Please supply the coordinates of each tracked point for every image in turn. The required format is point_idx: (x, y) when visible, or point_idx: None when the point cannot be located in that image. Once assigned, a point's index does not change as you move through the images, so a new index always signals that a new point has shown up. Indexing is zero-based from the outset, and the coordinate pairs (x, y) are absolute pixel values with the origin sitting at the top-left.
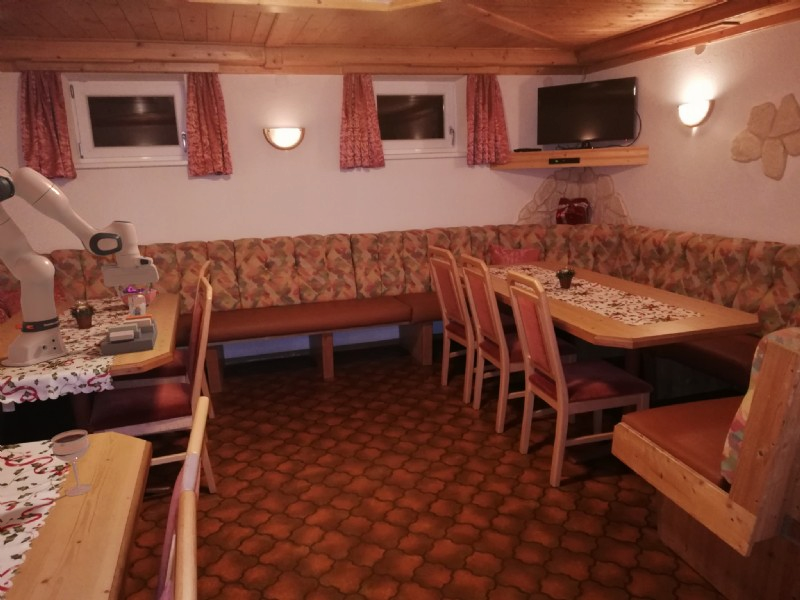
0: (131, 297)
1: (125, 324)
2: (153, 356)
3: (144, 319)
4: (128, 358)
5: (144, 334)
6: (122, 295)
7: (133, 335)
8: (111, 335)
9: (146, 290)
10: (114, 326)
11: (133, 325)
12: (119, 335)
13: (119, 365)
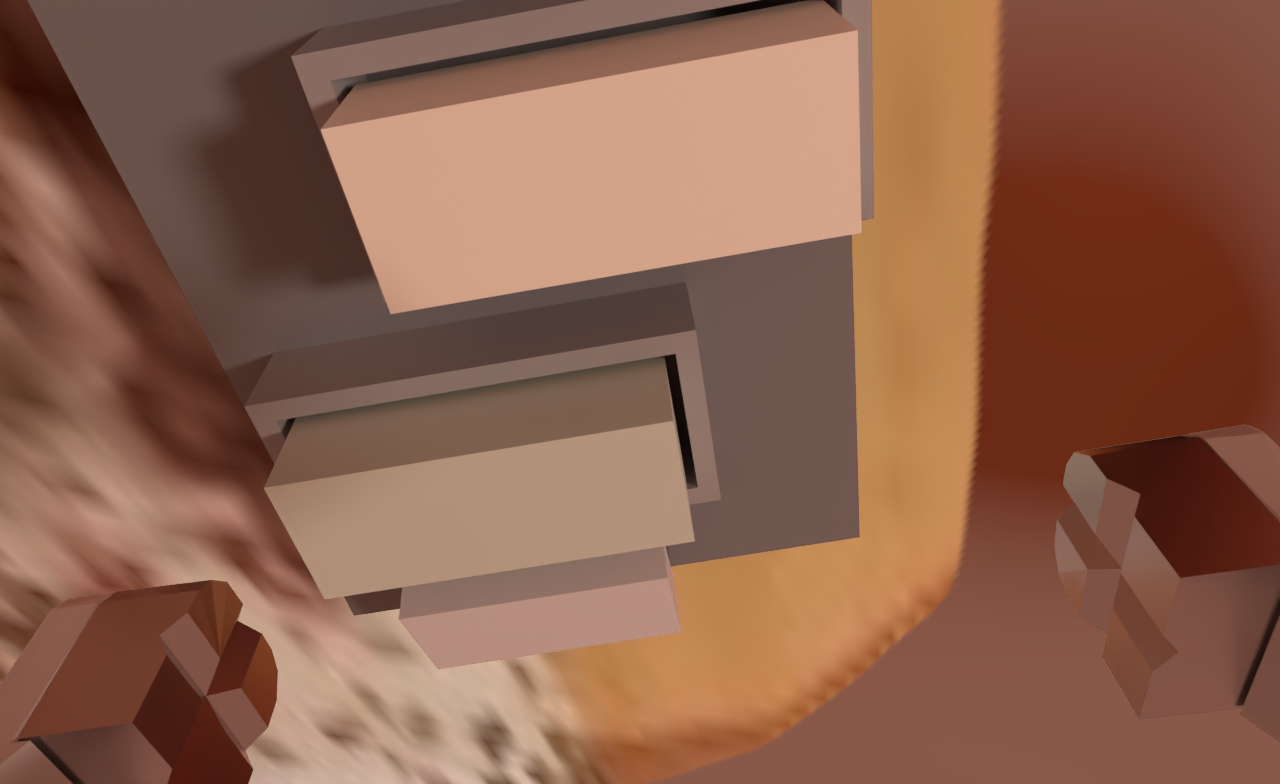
0: None
1: (499, 451)
2: (857, 633)
3: (748, 169)
4: (661, 638)
5: (730, 291)
6: (256, 725)
7: (667, 556)
8: (445, 653)
9: (1231, 687)
10: (366, 523)
11: (656, 538)
12: (539, 650)
13: (643, 750)
